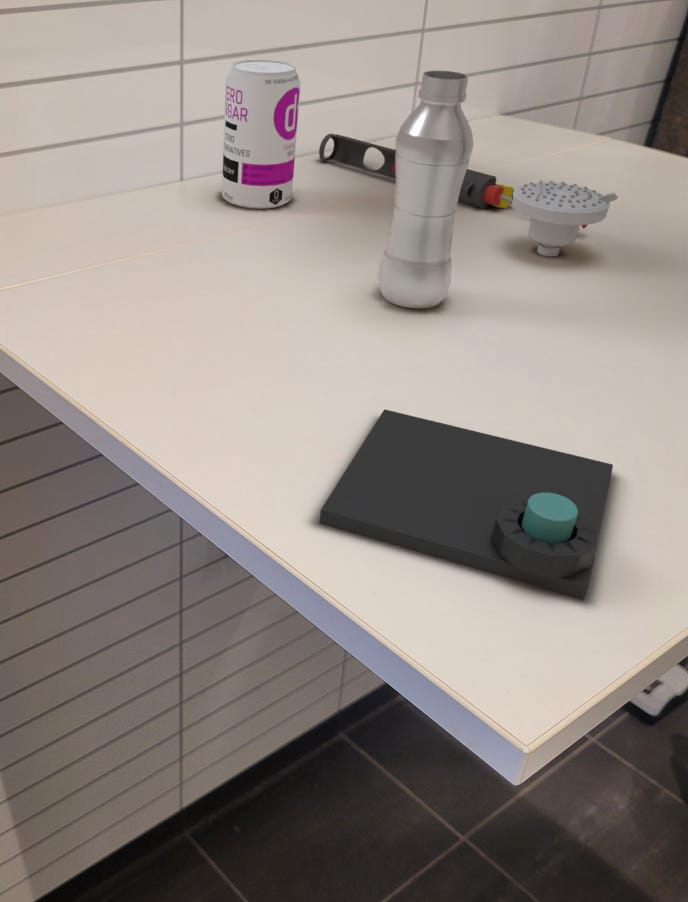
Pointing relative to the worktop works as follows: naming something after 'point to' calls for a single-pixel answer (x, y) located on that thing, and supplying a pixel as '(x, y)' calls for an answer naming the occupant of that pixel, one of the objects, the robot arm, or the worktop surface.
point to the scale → (470, 500)
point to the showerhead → (558, 212)
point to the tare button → (549, 517)
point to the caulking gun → (351, 151)
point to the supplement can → (260, 133)
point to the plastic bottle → (427, 193)
